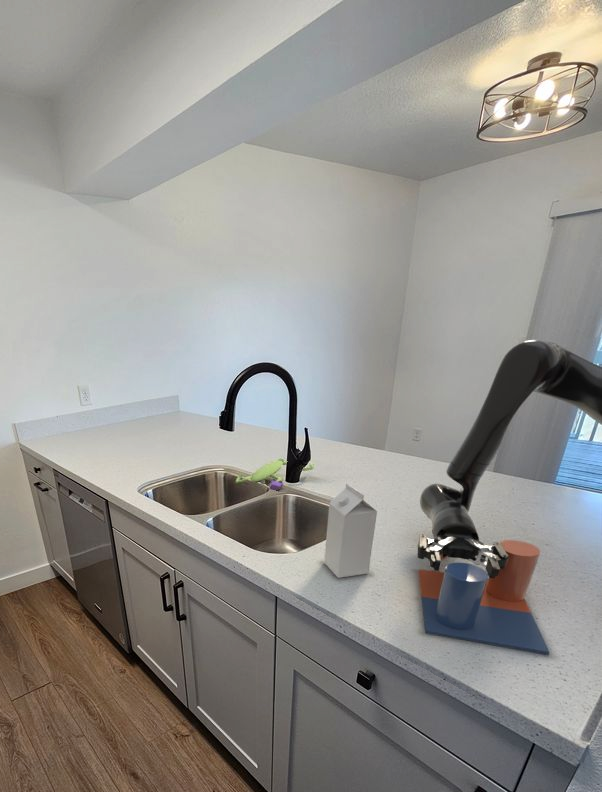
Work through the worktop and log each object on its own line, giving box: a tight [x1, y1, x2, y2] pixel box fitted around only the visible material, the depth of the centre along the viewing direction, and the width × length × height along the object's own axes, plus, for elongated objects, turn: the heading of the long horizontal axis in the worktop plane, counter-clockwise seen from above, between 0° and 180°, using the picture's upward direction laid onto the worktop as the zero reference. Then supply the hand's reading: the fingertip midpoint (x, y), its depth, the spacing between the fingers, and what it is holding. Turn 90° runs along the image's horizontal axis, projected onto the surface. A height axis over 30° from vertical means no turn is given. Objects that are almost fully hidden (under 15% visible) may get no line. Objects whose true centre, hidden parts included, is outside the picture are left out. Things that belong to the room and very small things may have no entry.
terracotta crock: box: [486, 539, 541, 602], centre depth 83 cm, size 6×6×10 cm
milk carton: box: [323, 483, 378, 579], centre depth 93 cm, size 7×7×19 cm
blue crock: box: [435, 562, 489, 630], centre depth 77 cm, size 6×6×10 cm
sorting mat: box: [418, 568, 550, 655], centre depth 82 cm, size 18×22×1 cm
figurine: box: [235, 458, 315, 491], centre depth 152 cm, size 18×27×6 cm
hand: (465, 570), depth 76 cm, fingers open, 8 cm apart
